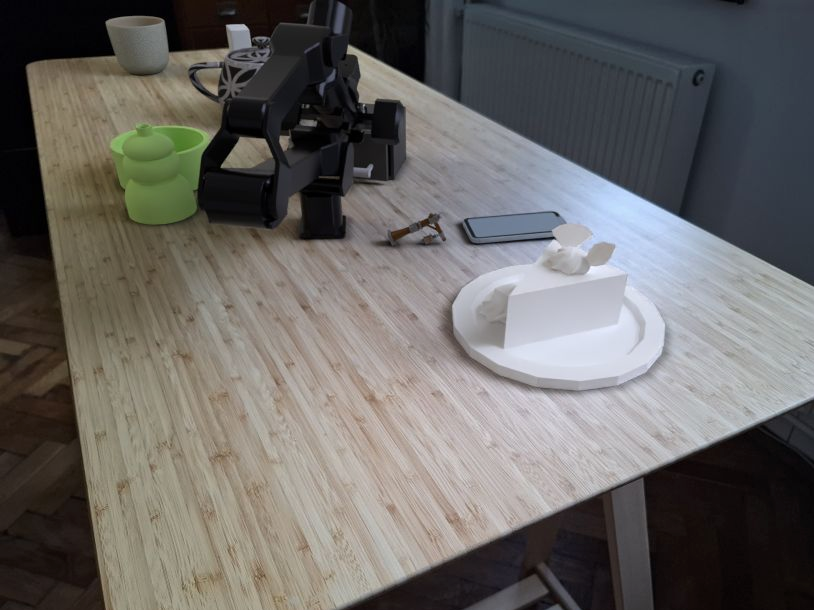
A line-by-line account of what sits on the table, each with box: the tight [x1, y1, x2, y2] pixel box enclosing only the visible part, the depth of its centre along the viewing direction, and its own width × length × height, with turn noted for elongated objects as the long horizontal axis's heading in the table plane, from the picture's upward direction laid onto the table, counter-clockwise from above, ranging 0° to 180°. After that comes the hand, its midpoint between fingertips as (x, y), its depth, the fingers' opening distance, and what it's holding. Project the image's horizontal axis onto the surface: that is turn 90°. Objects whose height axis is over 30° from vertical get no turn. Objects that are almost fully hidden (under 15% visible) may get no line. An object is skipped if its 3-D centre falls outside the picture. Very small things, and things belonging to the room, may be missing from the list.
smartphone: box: [461, 210, 568, 244], centre depth 101 cm, size 7×1×15 cm
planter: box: [105, 15, 170, 76], centre depth 160 cm, size 12×12×11 cm
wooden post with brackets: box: [386, 212, 447, 247], centre depth 96 cm, size 2×8×4 cm, turn 94°
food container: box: [109, 123, 211, 226], centre depth 104 cm, size 25×15×13 cm, turn 16°
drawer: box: [353, 131, 391, 182], centre depth 113 cm, size 13×11×8 cm
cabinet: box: [363, 102, 407, 180], centre depth 117 cm, size 10×12×9 cm
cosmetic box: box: [225, 23, 252, 52], centre depth 155 cm, size 6×4×12 cm
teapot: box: [187, 36, 304, 121], centre depth 135 cm, size 19×31×15 cm, turn 104°
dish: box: [451, 222, 666, 392], centre depth 78 cm, size 25×25×11 cm
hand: (351, 143), depth 109 cm, fingers closed, pressing on drawer
